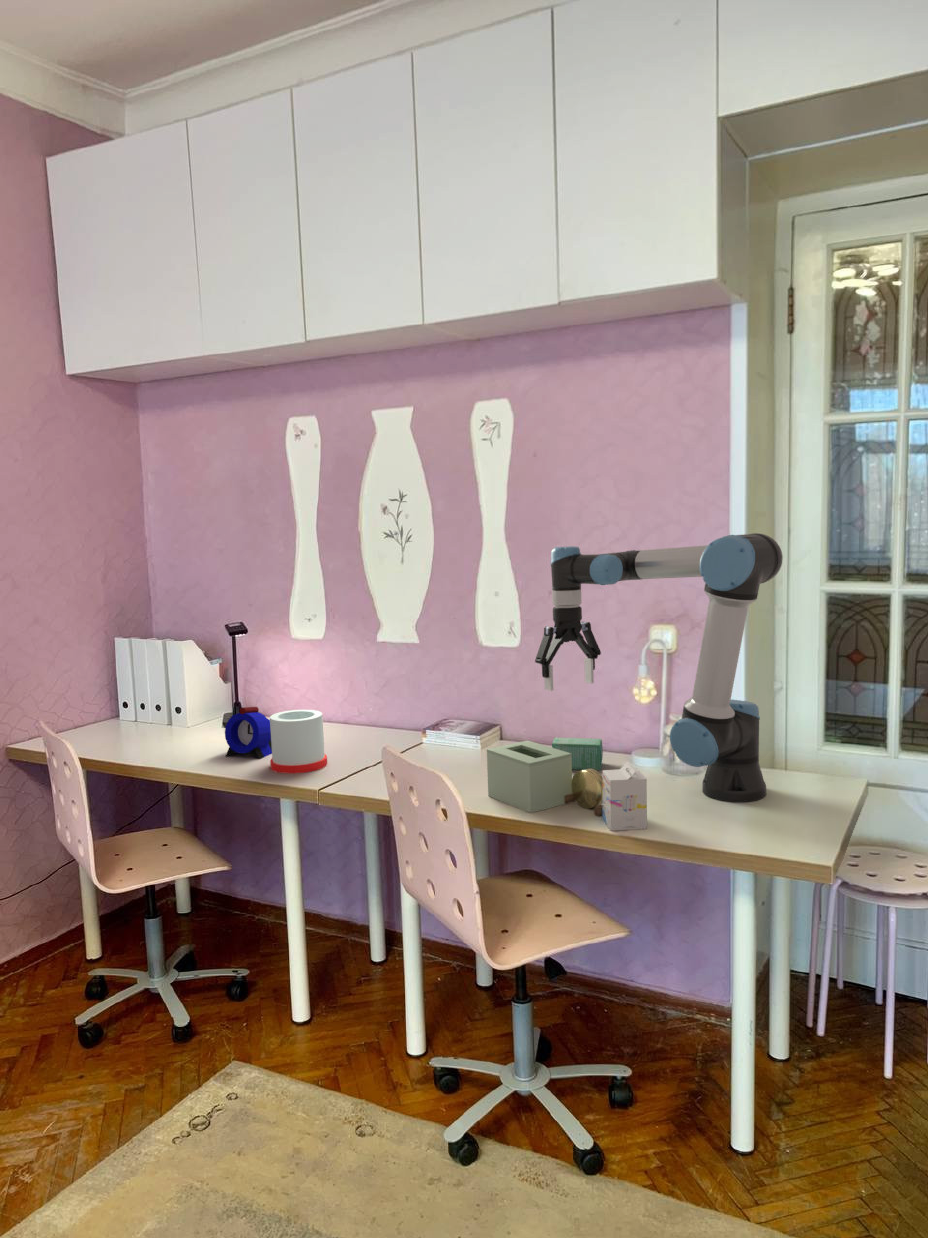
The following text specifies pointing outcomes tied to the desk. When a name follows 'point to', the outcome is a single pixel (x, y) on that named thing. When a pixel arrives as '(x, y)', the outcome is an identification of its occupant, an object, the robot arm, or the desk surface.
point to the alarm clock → (249, 733)
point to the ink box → (624, 799)
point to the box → (581, 751)
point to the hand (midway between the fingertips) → (569, 686)
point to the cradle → (571, 798)
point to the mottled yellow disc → (588, 788)
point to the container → (297, 741)
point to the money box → (529, 775)
